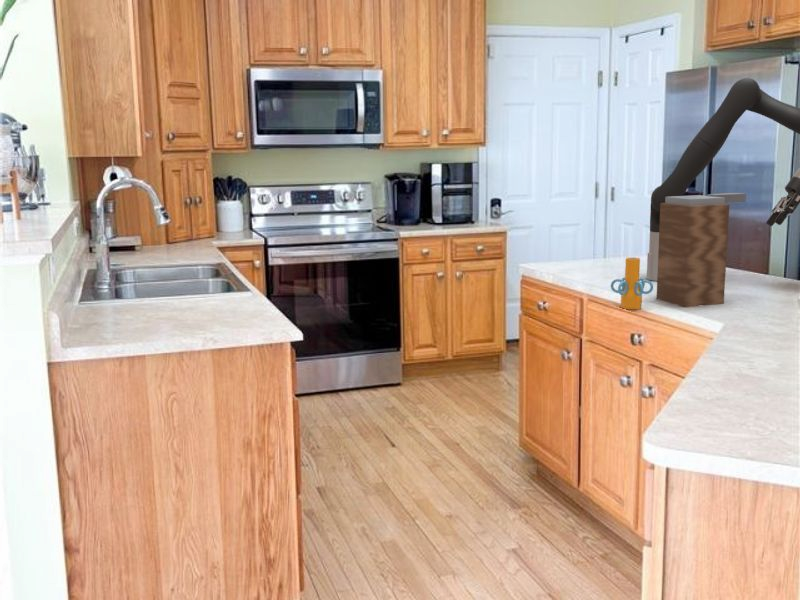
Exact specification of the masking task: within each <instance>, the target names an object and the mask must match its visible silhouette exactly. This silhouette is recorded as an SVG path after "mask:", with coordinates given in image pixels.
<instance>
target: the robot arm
mask: <svg viewBox="0 0 800 600" xmlns="http://www.w3.org/2000/svg"><path fill="white" fill-rule="evenodd" d="M746 111H748V112H751V113H754V114H757V115H761V116H763V117H766V118H768V119H770V120H772V121H774V122H776V123H778V124H779V125H781V126H784V127H785V128H786V129H788V130H790V131H792V132H795V133H797V134H798V135H800V108H799V107H797V106H794V105H792V104H789V103H785V102H783V101H780V100H779V99H776V98H774V97H772V96H771V95H769V94H768V93H766V92H765V91H764V90H763V89H761V87H760V84H759V83H758V82H757V81H756V80H755V79H753V78H750V77H749V78H748V77H745V78H741V79H739V80H737V81H736V82H734V84H733V85H732V86H731V88H730V89H729V91H728V93H727V94H726V96H725V98H724V100H723V101H722V102H721V104H720V106H719V107H718V108H717V110H716V111H715V113H714V114H713V115H712V116H711V117H710V118H709V119H708V121H706V123H705V124H704V125H703V127H701V129H700V130H699V131H698V133H697V134H696V135H695V136H694V138H693V139H692V140H691V142H689V144H688V146H687V147H686V149H685V150H684V151H683V153H682V155H681V157H680V159H679V161H678V162H677V164H676V166H675V167H674V169H673V171H671V174H670V175H669V176H668V177H667V178H666V179H665V180H664V181H663V183H661V185H659V186H657V187H656V188H654V190H653V191H652V193H651V196H650V216H649V240H648V241H649V245H648V252H647V259H646V261H647V264H646V265H647V266H646V280H649V281H654V282H657V273H658V250H659V226H660V203H665V197H672V196H683V195H684V193H685V192H686V191H688V188H689V187H690V186H691V184H692V183H693V182H694V181H695V180H696V178H698V176H699V175H701V173H702V172H703V171H704V170H705V169H706V168H707V167H708V166H709V164H710V163H712V160H713V159H714V158H715V157H716V155H717V154H718V153H719V152H720V150H721V148H722V147H723V146H724V144H725V143H726V141H727V139H728V137H729V135H730V133H731V131H732V130H733V127H734V125H735V124H736V123H737V122H738V120H740V118H741V117H742V115H744V113H745V112H746ZM784 189H785V190H784V191H786V192H785V193H787V194H786V196H783V197H781V198H780V200H779V201H778V202H777V204H776V205H775V206H774V207H773V209H772V210H771V213H772V214H771V215H770V216H769V218H768V219H767V220H766V222H765V224H766V225H768V226H769V227H773V226H774V224H777V225H778V226H781V225H782V224H783V223H784V222H785V220H786V219H787V218H788V216H791V214H792V215H793V213H794V212H795V210H796V209H797V208H798V206H799V205H800V167H799V168H798V169H797V170H796V172H795V173H794V174H793V176H792V177H791V179H790V180H788V183H787V184H786V185H785V186H784Z"/></svg>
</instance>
